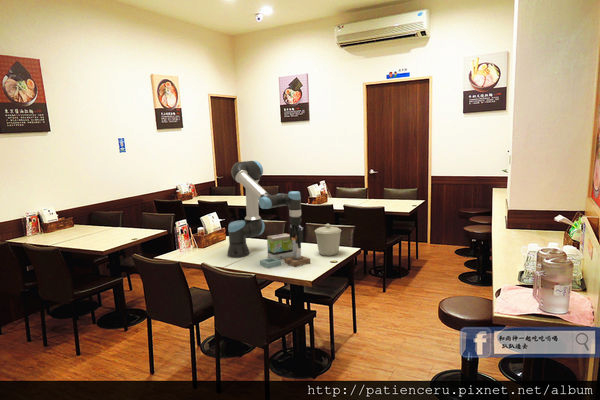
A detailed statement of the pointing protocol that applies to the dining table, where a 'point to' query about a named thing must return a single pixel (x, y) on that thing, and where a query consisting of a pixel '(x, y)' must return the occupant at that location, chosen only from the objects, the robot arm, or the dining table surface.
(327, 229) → the canister
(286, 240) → the tea box
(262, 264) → the mount
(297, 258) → the lock pin
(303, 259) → the tray
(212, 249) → the dining table surface
